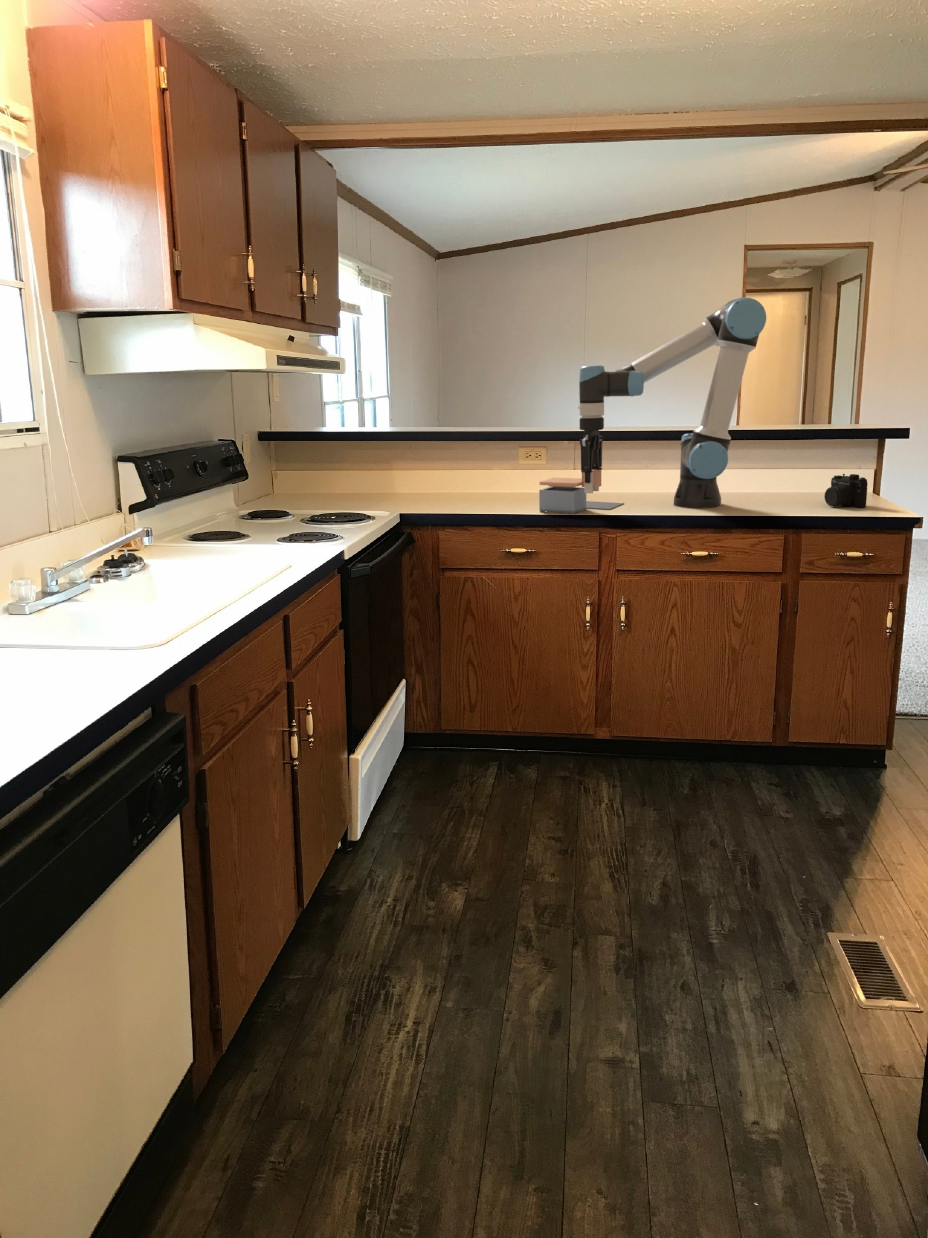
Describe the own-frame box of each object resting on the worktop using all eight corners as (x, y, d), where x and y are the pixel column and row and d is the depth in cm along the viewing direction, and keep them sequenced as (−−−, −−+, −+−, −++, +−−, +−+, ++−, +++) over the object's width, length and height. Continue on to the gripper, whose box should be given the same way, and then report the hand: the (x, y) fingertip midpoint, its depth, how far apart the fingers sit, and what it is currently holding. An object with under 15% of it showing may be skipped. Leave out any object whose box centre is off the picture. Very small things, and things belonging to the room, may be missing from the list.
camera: (812, 504, 321) (814, 473, 318) (838, 501, 324) (841, 471, 321) (842, 510, 308) (844, 478, 305) (869, 507, 311) (872, 475, 309)
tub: (586, 509, 321) (586, 487, 319) (574, 513, 312) (574, 491, 310) (552, 507, 326) (552, 485, 324) (539, 511, 318) (539, 489, 316)
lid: (605, 484, 316) (605, 468, 314) (592, 489, 307) (592, 472, 305) (553, 482, 324) (553, 466, 323) (539, 486, 315) (539, 470, 314)
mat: (624, 504, 329) (624, 503, 329) (609, 509, 318) (609, 508, 318) (576, 501, 337) (576, 500, 337) (561, 506, 326) (561, 505, 326)
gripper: (590, 414, 316) (590, 487, 322) (569, 418, 301) (569, 495, 308) (613, 414, 312) (612, 488, 318) (592, 418, 298) (592, 496, 304)
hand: (591, 491), depth 313 cm, fingers closed on lid, 4 cm apart
